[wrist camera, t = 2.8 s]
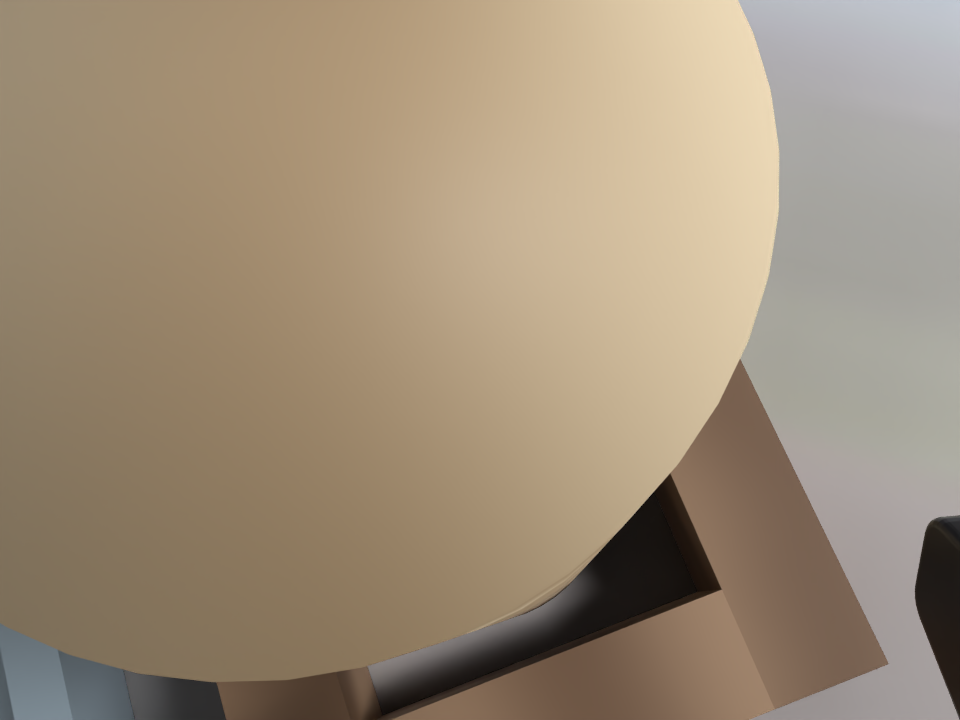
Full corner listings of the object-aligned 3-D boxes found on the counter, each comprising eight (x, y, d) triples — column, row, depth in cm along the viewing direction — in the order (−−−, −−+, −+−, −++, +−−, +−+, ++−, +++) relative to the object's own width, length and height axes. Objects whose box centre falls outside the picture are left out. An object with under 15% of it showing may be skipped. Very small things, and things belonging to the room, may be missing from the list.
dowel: (408, 659, 17) (-128, 863, 4) (331, 427, 18) (-258, -52, 5) (643, 567, 17) (981, 429, 4) (549, 344, 19) (547, -341, 5)
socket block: (317, 862, 16) (276, 907, 14) (175, 357, 19) (121, 321, 17) (839, 655, 16) (889, 664, 14) (618, 189, 19) (628, 130, 17)
